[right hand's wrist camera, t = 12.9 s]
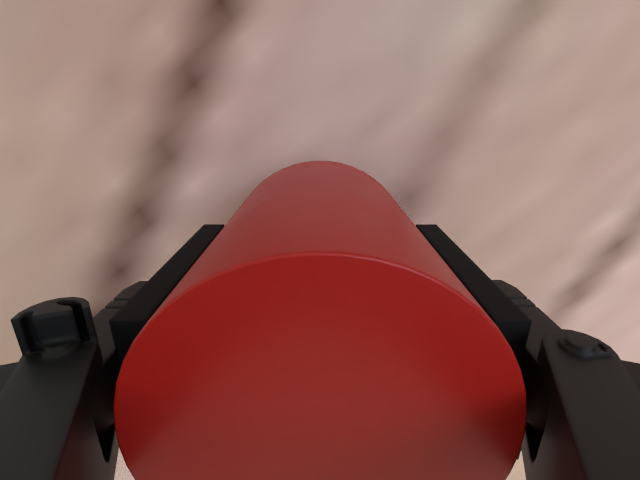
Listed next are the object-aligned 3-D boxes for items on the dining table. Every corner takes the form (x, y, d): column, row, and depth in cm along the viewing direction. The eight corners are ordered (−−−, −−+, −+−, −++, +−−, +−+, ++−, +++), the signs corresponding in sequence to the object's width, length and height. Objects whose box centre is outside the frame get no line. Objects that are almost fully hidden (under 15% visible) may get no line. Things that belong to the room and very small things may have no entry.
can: (256, 330, 17) (183, 584, 8) (214, 177, 14) (39, 293, 5) (412, 307, 16) (523, 549, 7) (396, 146, 14) (536, 213, 5)
